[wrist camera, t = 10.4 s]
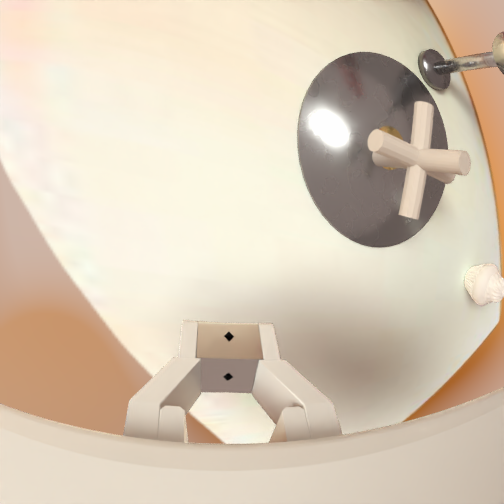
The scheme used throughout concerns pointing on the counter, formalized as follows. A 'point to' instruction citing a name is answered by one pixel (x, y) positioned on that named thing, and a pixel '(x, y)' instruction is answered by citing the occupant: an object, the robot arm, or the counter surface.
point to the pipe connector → (417, 158)
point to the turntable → (363, 147)
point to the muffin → (484, 284)
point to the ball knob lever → (458, 64)
